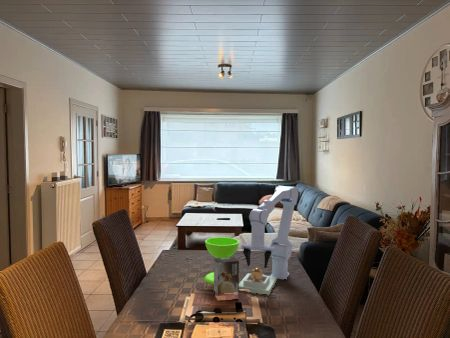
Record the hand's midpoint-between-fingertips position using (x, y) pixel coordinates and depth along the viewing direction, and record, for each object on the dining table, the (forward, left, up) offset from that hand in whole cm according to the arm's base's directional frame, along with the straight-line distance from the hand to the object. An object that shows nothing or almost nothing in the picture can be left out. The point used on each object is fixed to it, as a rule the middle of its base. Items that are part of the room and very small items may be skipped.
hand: (257, 266), depth 160 cm
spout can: (0, 0, -7) cm, 7 cm away
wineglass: (-4, -18, -10) cm, 21 cm away
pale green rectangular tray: (-2, 0, -9) cm, 10 cm away
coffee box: (+16, -9, -10) cm, 21 cm away
